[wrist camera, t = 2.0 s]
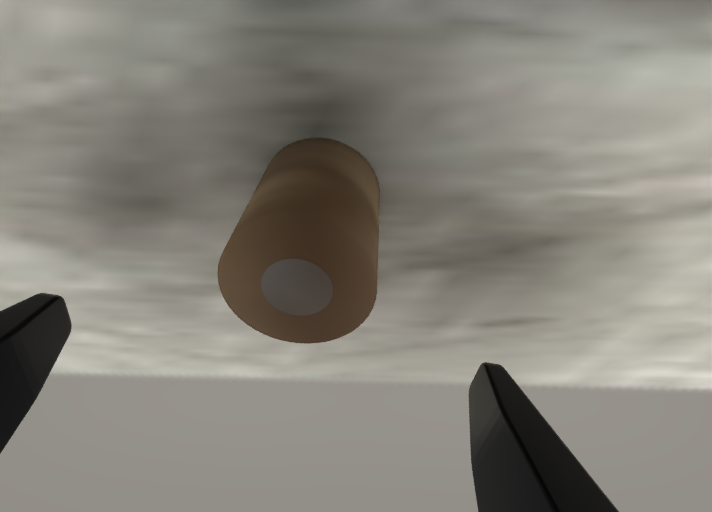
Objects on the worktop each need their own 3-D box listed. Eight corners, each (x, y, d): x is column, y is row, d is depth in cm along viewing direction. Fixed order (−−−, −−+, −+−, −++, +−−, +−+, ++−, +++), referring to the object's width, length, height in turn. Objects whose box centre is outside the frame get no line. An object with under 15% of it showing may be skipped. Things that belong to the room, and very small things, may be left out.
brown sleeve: (261, 232, 16) (218, 332, 12) (266, 127, 14) (214, 206, 10) (368, 250, 16) (361, 354, 12) (390, 150, 14) (391, 236, 10)
